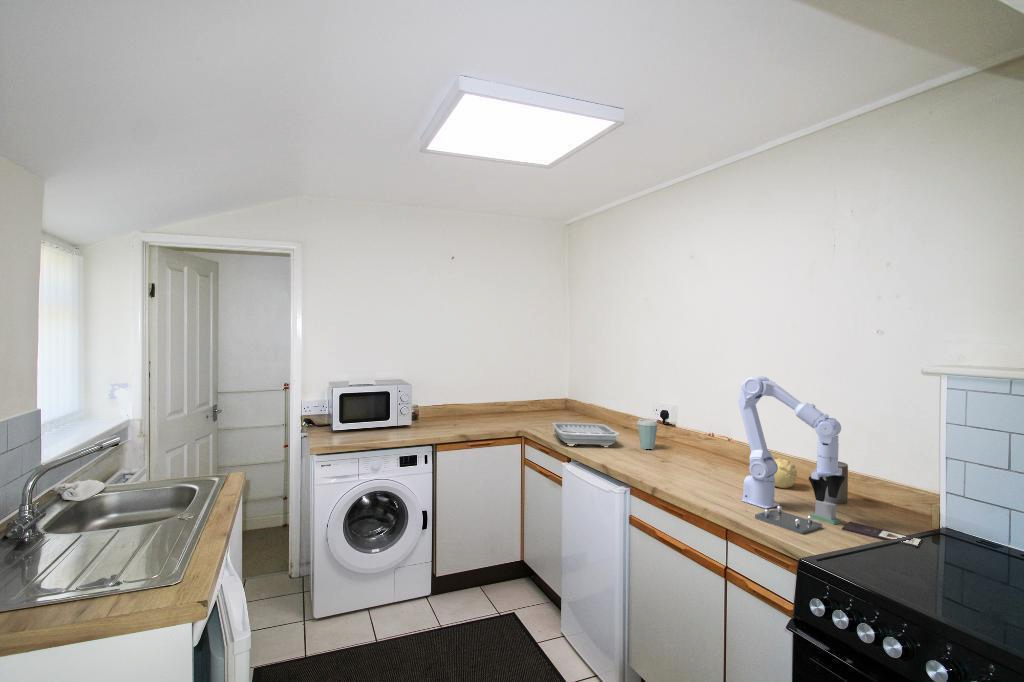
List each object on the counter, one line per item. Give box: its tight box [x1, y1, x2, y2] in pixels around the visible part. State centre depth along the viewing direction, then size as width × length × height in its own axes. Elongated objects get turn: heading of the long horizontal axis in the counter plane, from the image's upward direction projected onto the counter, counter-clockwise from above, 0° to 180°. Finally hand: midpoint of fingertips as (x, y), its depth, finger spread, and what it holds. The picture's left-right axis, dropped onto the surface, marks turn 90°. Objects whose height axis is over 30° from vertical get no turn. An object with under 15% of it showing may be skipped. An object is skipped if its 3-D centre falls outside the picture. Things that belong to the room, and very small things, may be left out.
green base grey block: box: [809, 500, 842, 526], centre depth 167 cm, size 7×4×6 cm, turn 31°
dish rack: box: [551, 422, 620, 447], centre depth 280 cm, size 32×37×8 cm
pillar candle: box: [816, 460, 849, 505], centre depth 187 cm, size 10×10×15 cm
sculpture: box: [773, 457, 798, 489], centre depth 205 cm, size 12×12×11 cm
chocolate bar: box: [841, 521, 923, 549], centre depth 155 cm, size 9×1×18 cm
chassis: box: [754, 505, 823, 535], centre depth 163 cm, size 15×11×3 cm
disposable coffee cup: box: [636, 418, 659, 450], centre depth 266 cm, size 11×11×15 cm
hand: (826, 499), depth 167 cm, fingers open, 7 cm apart
